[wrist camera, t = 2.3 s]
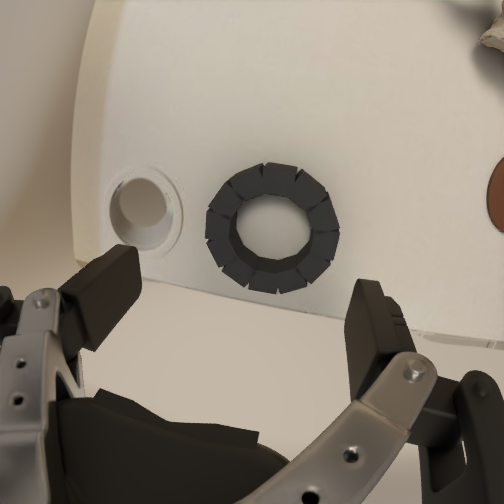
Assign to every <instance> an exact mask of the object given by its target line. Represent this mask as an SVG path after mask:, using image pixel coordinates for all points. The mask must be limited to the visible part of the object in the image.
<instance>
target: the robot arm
mask: <svg viewBox="0 0 504 504" xmlns="http://www.w3.org/2000/svg"><path fill="white" fill-rule="evenodd" d="M141 289H142V279H141V272H140V263H139V254H138V250H137V248H136V247H134V246H128V245H121V244H117V245H115V246H114V247H112V248H111V249H110V250H109V251H107V252H106V253H105V254H104V255H102V256H100V257H98V258H96V259H93V260H92V261H91V262H90V263H88V264H87V265H86V266H85V268H84V267H83V268H82V269H81V270H80V271H79V273H76V274H75V275H74V276H73V277H72V278H70V279H69V280H68V281H67V282H66V283H64V284H63V285H62V286H61V287H60V288H58V290H55V289H53V288H43V289H39V290H36V291H34V292H32V293H31V294H29V295H28V296H27V297H26V299H25V300H14V298H13V295H12V293H11V290H10V288H8V287H6V286H0V346H1V347H0V504H361V503H362V502H363V501H364V499H365V498H366V497H367V496H368V494H369V493H370V492H371V491H372V490H373V488H374V487H375V486H376V484H377V483H378V482H379V481H380V479H381V478H382V476H383V475H384V474H385V472H386V471H387V469H388V468H389V467H390V465H391V464H392V462H393V461H394V459H395V458H396V457H397V455H398V453H399V452H400V450H401V449H402V447H403V446H404V444H405V443H406V442H407V443H411V444H415V445H418V449H419V458H420V471H421V487H422V504H504V400H503V397H502V395H501V392H500V390H499V387H498V385H497V383H496V382H495V380H494V379H492V377H491V376H489V375H488V374H486V373H484V372H482V371H477V370H473V371H469V372H467V373H466V374H465V376H464V377H463V379H462V380H461V381H460V382H458V381H454V380H451V379H447V378H443V377H440V376H438V375H437V370H436V368H435V366H434V365H433V363H432V362H431V361H430V360H429V359H428V358H426V357H425V356H423V355H421V354H418V353H417V351H416V348H415V345H414V343H413V340H412V337H411V334H410V332H409V329H408V326H406V325H407V324H406V321H405V318H403V313H402V311H401V308H400V306H399V305H398V304H397V303H396V302H395V301H394V300H393V299H392V298H391V297H388V296H384V293H383V291H382V288H381V285H380V283H379V281H374V280H366V279H357V281H356V283H355V286H354V290H353V293H352V297H351V301H350V304H349V307H348V311H347V314H346V318H345V325H344V334H345V342H346V351H347V362H348V372H349V383H350V396H351V403H350V404H349V406H348V407H347V408H346V409H345V410H344V411H343V412H342V413H341V414H340V415H339V416H338V417H337V418H336V419H335V420H334V421H333V422H332V423H331V424H330V425H329V426H328V427H327V428H326V429H325V430H324V431H323V432H322V433H321V434H320V435H319V436H318V437H317V438H316V439H315V440H314V441H313V442H312V443H311V444H310V445H309V446H307V447H306V448H305V449H304V450H303V451H302V452H301V453H300V454H299V455H298V456H296V457H295V458H294V459H293V460H292V461H291V462H290V461H289V460H288V459H286V458H285V457H284V456H282V455H281V454H279V453H278V452H276V451H274V450H272V449H270V448H268V447H266V446H264V445H261V444H259V443H257V441H258V436H259V432H258V431H251V430H246V429H240V428H234V427H229V426H224V425H220V424H208V423H205V424H204V423H180V422H169V421H166V420H164V419H163V418H161V417H159V416H157V415H156V414H154V413H152V412H151V411H149V410H147V409H146V408H144V407H142V406H141V405H139V404H138V403H136V402H135V401H133V400H130V399H127V398H124V397H122V396H119V395H116V394H114V393H111V392H109V391H106V390H103V389H101V388H100V389H99V390H98V392H97V393H96V395H95V396H94V398H91V397H85V390H84V381H83V371H82V360H81V359H82V358H81V355H80V352H79V351H80V349H81V348H82V347H83V348H85V349H88V350H91V351H93V352H95V351H96V350H97V348H98V347H99V346H100V345H101V343H102V342H103V341H104V339H105V338H106V337H107V336H108V334H109V333H110V332H111V330H112V329H113V328H114V327H115V326H116V324H117V323H118V322H119V321H120V320H121V318H122V317H123V316H124V315H125V313H126V312H127V311H128V310H129V309H130V307H131V306H132V305H133V304H134V302H135V301H136V300H137V299H138V298H139V296H140V293H141ZM462 441H464V446H465V451H466V456H467V463H465V458H464V451H463V446H462Z"/></svg>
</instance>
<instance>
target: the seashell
mask: <svg viewBox="0 0 504 504" xmlns="http://www.w3.org/2000/svg"><path fill="white" fill-rule="evenodd" d="M478 42H479V43H480V44H482V43H483V44H485V45H486V46H487V47H494V48H496V49H499V50H501V51H502V52H504V0H503V1H502V14H501V16H499V17H497V18H496V19H495V20H494V22H493V24H492V27H491V28H490V29H489V30H488V31H486V32H484V33H483V34H482V36H481V37H480V39H479V41H478Z"/></svg>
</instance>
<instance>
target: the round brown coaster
mask: <svg viewBox="0 0 504 504" xmlns="http://www.w3.org/2000/svg"><path fill="white" fill-rule="evenodd" d="M487 205H488V211H489V214H490V217H491V219H492V221H493V223H494V224H495V226H496V227H497V228H498V229H499V230H501V231H502V232H504V158H503V159H502V160H501V161H500V162H499V163H498V165H497V166H496V168H495V169H494V171H493V174H492V176H491V178H490V182H489V186H488V192H487Z"/></svg>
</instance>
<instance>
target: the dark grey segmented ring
mask: <svg viewBox="0 0 504 504" xmlns="http://www.w3.org/2000/svg"><path fill="white" fill-rule="evenodd" d="M296 173H297V167H295V166H289V165H283V164H276V163H269V162H268V163H267V164H266V165H265V166H264V165H263V163H261V164H258V165H256V166H253V167H251V168H248V169H246V170H243V171H241V172H239V173H236V174H235V175H234V176H233V177H231V178H230V179H229V180H228V181H226V182H225V183H224V184H223V186H222V187H221V189H220V190H219V191H218V193H217V194H216V196H215V197H214V199H213V200H212V201H211V203H210V204H209V206H208V207H209V209H208V210H207V212H206V231H205V238H206V239H209V240H208V242H207V243H206V244H207V246H208V248H209V250H210V252H211V254H212V256H213V258H214V260H215V262H216V263H217V265H218V267H222V266H224V267H223V269H222V272H223V273H225V274H226V275H227V276H229V277H230V278H232V279H233V280H234V281H236V282H237V283H239V284H240V285H241V286H243V287H245V286H246V285H247V284H248V283H249V288H248V289H249V290H255V291H260V292H266V293H271V294H276V292H277V287H278V289H279V292H280V294H283V293H286V292H290V291H293V290H297V289H300V288H304V287H307V281H308V282H309V283H311V284H312V283H313V282H314V281H315V280H316V279H317V278H318V277H319V276H320V275H321V274H322V273H323V272H324V271H325V270H326V269H327V268H328V267H329V266H330V265H331V264H330V260H332V261H333V260H334V256H335V252H336V248H337V244H338V240H339V235H340V232H339V228H340V227H339V223H338V220H337V217H336V214H335V211H334V208H333V205H332V202H331V200H330V197H329V194H328V192H326V191H325V187H324V186H322V185H321V184H320V183H319V182H317V181H316V180H315V179H314V178H313V177H311V176H310V175H309V174H308V173H306V172H305V171H304V170H303V169H301V170H300V171H299V173H298V174H297V175H296ZM263 194H270V195H276V196H283V197H288V198H289V199H290V200H292V201H293V202H294V203H296V204H297V205H298V206H299V207H301V208H302V209H303V210H304V211H305V212H306V213H307V216H308V218H309V221H310V224H311V226H312V230H311V235H310V240H309V242H308V243H307V244H306V245H305V246H304V247H303V248H302V249H301V250H300V251H299V253H298V254H297V255H294V256H291V257H287V258H284V259H281V260H274V259H268V258H262V257H259V256H257V255H256V254H255V253H253V252H252V251H251V250H249V249H248V248H247V247H245V246H244V245H243V243H242V241H241V239H240V237H239V235H238V232H237V230H236V219H237V210H238V209H239V207H240V206H241V205H242V204H243V202H244V201H247V200H250V199H252V198H255V197H257V196H260V195H263Z"/></svg>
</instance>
